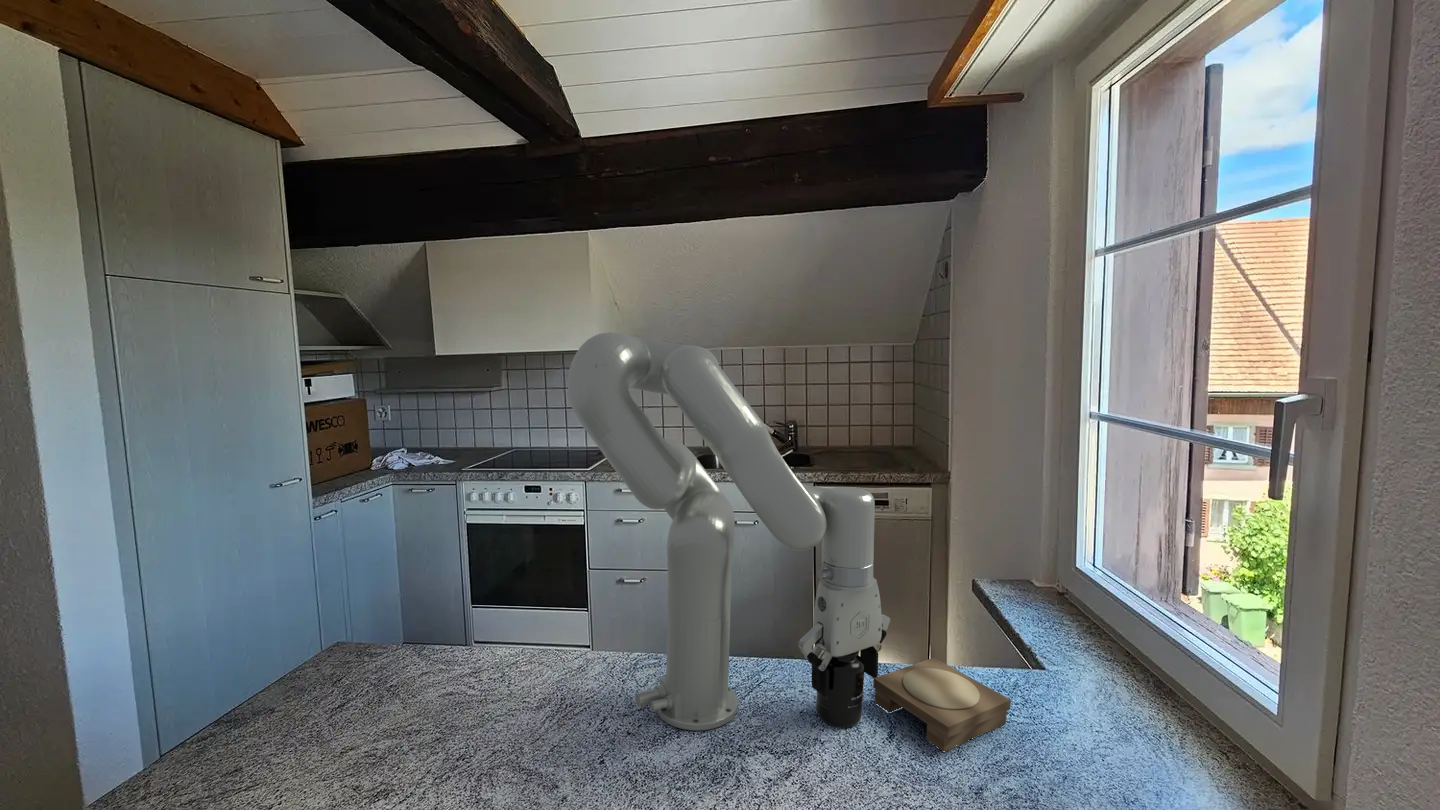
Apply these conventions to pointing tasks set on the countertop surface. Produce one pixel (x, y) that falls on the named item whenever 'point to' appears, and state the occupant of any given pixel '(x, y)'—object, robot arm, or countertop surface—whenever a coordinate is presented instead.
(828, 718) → the supplement bottle
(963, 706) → the walnut stand
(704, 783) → the countertop surface
